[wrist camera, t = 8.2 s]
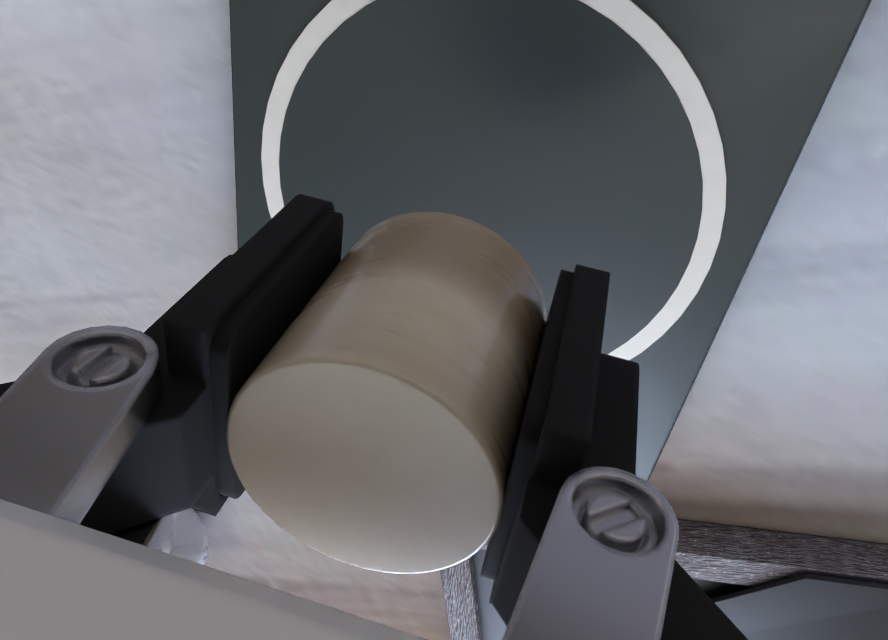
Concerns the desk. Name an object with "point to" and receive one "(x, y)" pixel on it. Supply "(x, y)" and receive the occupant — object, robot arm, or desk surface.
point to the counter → (396, 398)
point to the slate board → (549, 140)
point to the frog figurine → (188, 538)
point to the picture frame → (737, 585)
